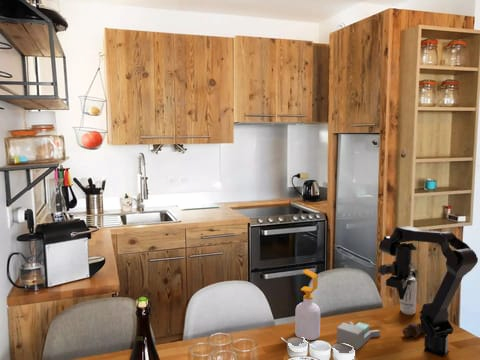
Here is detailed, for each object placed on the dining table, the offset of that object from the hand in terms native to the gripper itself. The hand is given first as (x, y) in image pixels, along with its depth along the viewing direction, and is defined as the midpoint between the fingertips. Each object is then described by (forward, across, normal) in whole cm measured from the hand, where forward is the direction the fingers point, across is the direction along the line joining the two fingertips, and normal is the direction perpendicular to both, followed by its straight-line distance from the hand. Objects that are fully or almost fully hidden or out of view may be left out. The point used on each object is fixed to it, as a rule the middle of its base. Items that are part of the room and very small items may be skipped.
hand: (401, 299), depth 156 cm
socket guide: (+12, +18, -10) cm, 23 cm away
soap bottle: (+12, +27, -25) cm, 39 cm away
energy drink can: (+12, -18, -3) cm, 22 cm away
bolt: (+12, -2, +6) cm, 14 cm away
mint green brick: (+12, +18, -9) cm, 24 cm away
